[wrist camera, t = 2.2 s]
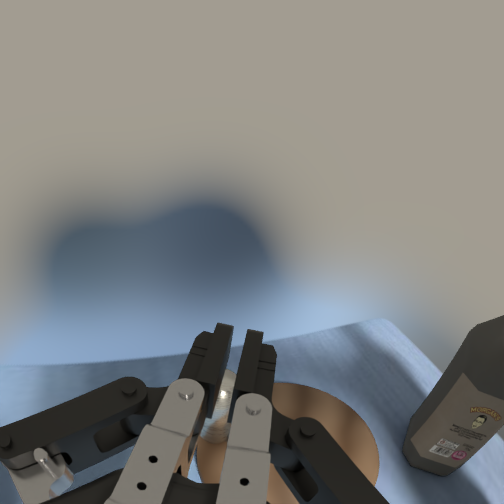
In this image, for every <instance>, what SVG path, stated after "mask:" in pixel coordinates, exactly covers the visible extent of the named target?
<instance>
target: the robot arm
mask: <svg viewBox="0 0 504 504" xmlns="http://www.w3.org/2000/svg"><path fill="white" fill-rule="evenodd" d="M233 328H234V326H231V325H227V324H222V323H217V325H216V328H215V330H214V333H210V332H206V331H203V332H202V333H201V334H199V335H198V336H197V337H196V338H195V341H194V343H193V346H192V348H191V350H190V352H189V355H188V357H187V359H186V362H185V364H184V366H183V369H182V371H181V373H180V376H179V378H178V379H177V380H176V381H174V382H172V383H171V384H170V386H167V387H162V388H152V387H146V385H145V384H144V382H143V381H141V380H140V379H138V378H135V377H123V378H120V379H118V380H116V381H113V382H111V383H109V384H107V385H104V386H102V387H100V388H97V389H95V390H93V391H91V392H88V393H86V394H84V395H81V396H79V397H76V398H74V399H72V400H69V401H67V402H64V403H62V404H60V405H57V406H55V407H52V408H50V409H47V410H45V411H42V412H40V413H37V414H35V415H32V416H29V417H27V418H24V419H22V420H19V421H16V422H14V423H11V424H8V425H6V426H3V427H0V461H1V462H2V464H3V465H4V466H5V467H6V468H7V469H8V471H9V473H10V475H11V478H12V480H13V482H14V484H15V486H16V489H17V491H18V493H19V495H20V497H21V499H22V501H23V503H24V504H271V503H269V502H268V501H266V499H267V490H268V480H269V469H270V463H272V464H273V465H274V467H275V469H276V471H277V472H278V474H279V475H280V477H281V478H282V480H283V481H284V482H285V484H286V485H287V487H288V488H289V490H290V491H291V492H292V494H293V495H294V497H295V498H296V499H297V501H298V502H299V504H389V503H388V501H387V500H386V499H385V498H384V497H383V496H382V495H381V494H380V492H379V491H378V490H377V489H376V488H375V487H374V486H373V484H372V483H371V482H370V481H369V480H368V479H367V478H366V476H365V475H364V474H363V473H362V472H361V471H360V469H359V468H358V467H357V466H356V465H355V464H354V462H353V461H352V460H351V459H350V458H349V456H348V455H347V454H346V453H345V452H344V450H343V449H342V448H341V447H340V446H339V444H338V443H337V442H336V441H335V440H334V438H333V437H332V436H331V435H330V433H329V432H328V431H327V430H326V429H325V427H324V426H323V425H322V424H321V423H320V422H319V421H318V420H316V419H314V418H311V417H300V418H297V419H295V420H293V419H291V418H289V417H286V416H284V415H282V414H281V413H279V412H278V411H277V410H276V409H275V407H274V406H273V403H272V392H273V384H274V375H275V367H276V358H277V354H276V351H275V349H274V347H273V346H272V345H267V344H262V339H263V332H260V331H255V330H250V329H248V330H247V334H246V338H245V343H244V346H243V351H242V355H241V359H240V363H239V367H238V371H237V376H236V380H235V384H234V388H233V393H232V398H231V404H230V409H229V414H228V420H227V423H231V427H230V432H229V437H228V442H227V447H226V452H225V457H224V462H223V467H222V472H221V477H220V482H219V483H196V482H194V481H192V480H190V479H188V478H187V476H188V471H189V467H190V464H191V461H192V458H193V455H194V452H195V449H196V446H197V443H198V440H199V438H200V435H201V431H202V428H203V426H204V422H205V419H206V418H209V419H212V415H213V412H214V408H215V405H216V401H217V398H218V394H219V391H220V387H221V384H222V380H223V377H224V373H225V370H226V366H227V362H228V358H229V353H230V347H231V341H232V335H233ZM133 445H135V446H134V449H133V451H132V453H131V455H130V457H129V459H128V461H127V463H126V465H125V467H124V468H122V469H119V470H116V471H113V472H111V473H109V474H107V475H105V476H103V477H100V478H98V479H96V480H94V481H92V482H90V483H87V484H85V485H83V486H81V487H78V488H76V489H74V490H72V491H69V492H67V493H64V494H62V493H63V492H64V491H65V490H67V489H68V488H69V487H70V486H71V485H72V483H73V480H74V475H73V474H75V473H77V472H80V471H82V470H84V469H86V468H88V467H90V466H93V465H95V464H97V463H99V462H101V461H103V460H105V459H107V458H109V457H111V456H113V455H115V454H117V453H119V452H121V451H123V450H125V449H127V448H129V447H131V446H133ZM61 494H62V495H61Z"/></svg>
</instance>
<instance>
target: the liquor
mask: <svg viewBox="0 0 504 504" xmlns="http://www.w3.org/2000/svg"><path fill="white" fill-rule="evenodd" d="M503 425H504V315H503V316H500V317H498V318H495V319H492V320H489V321H486V322H483V323H481V324H477V325H476V326H475V327H474V328H473V329H472V330H471V331H469V333H468V335H467V337H466V338H465V340H464V342H463V343H462V345H461V347H460V348H459V350H458V352H457V353H456V355H455V357H454V358H453V360H452V361H451V363H450V364H449V366H448V367H447V369H446V370H445V372H444V373H443V375H442V376H441V378H440V379H439V381H438V382H437V384H436V385H435V387H434V388H433V389H432V391H431V392H430V394H429V395H428V396H427V398H426V399H425V401H424V402H423V403H422V405H421V406H420V407H419V409H418V410H417V411H416V412H415V414H414V415H413V416H412V418H411V419H410V423H409V427H408V431H407V434H406V438H405V441H404V445H403V449H402V451H403V453H404V455H405V457H406V458H407V460H408V462H409V464H410V465H411V466H413V467H416V468H419V469H421V470H424V471H428V472H431V473H434V474H437V475H440V476H446V475H448V474H450V473H451V472H453V471H455V470H456V469H458V468H460V467H461V466H462V465H463V464H464V463H465V462H466V461H468V460H469V459H470V458H471V457H472V456H473V455H474V454H475V453H476V452H477V451H478V450H479V449H480V448H481V447H483V446H484V445H485V444H486V443H487V442H488V441H489V440H490V439H491V438H492V437H493V436H494V434H495V433H496V432H497V431H498V430H499V429H500V428H501V427H502V426H503Z"/></svg>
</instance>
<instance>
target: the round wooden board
mask: <svg viewBox="0 0 504 504" xmlns="http://www.w3.org/2000/svg"><path fill="white" fill-rule="evenodd" d="M272 403H273V406H274V407H275V409H276V410H277V411H278V412H279V413H281V414H282V415H284V416H286V417H289V418H291V419H293V420H295V419H297V418H300V417H311V418H314V419H316V420H318V421H319V422H320V423H321V424H322V425H323V426H324V427H325V429H326V430H327V431H328V432H329V433H330V435H331V436H332V437H333V438H334V440H335V441H336V442H337V443H338V444H339V446H340V447H341V448H342V449H343V450H344V452H345V453H346V454H347V455H348V456H349V458H350V459H351V460H352V461H353V462H354V464H355V465H356V466H357V467H358V468H359V469H360V471H361V472H362V473H363V474H364V475H365V476H366V478H367V479H368V480H369V481H370V482H371V483H372V484H373V486H375V484H376V481H377V477H378V472H379V453H378V448H377V445H376V442H375V439H374V437H373V435H372V433H371V431H370V429H369V427H368V426H367V425H366V423H365V422H364V420H363V419H362V418H361V417H360V416H359V415H358V414H357V413H356V412H355V411H354V410H353V409H352V408H351V407H349V406H348V405H347V404H345V403H344V402H342V401H341V400H339V399H338V398H336V397H334V396H332V395H330V394H328V393H326V392H323V391H321V390H318V389H315V388H312V387H308V386H304V385H299V384H291V383H274V384H273V392H272ZM230 427H231V425H230ZM226 447H227V442H226V441H224V442H222V443H218V444H212V443H209V442H206V441H205V440H204V439H203V438H202V437H201V436H200V438H199V440H198V443H197V466H198V471H199V475H200V478H201V481H202V483H219V482H220V477H221V472H222V467H223V462H224V457H225V452H226ZM266 501H268V502H269V503H271V504H299V502H298V501H297V499H296V498H295V497H294V495H293V494H292V492H291V491H290V490H289V488H288V487H287V485H286V484H285V482H284V481H283V480H282V478H281V477H280V475H279V474H278V472H277V471H276V469H275V467H274V465H273V464H272V463H270V469H269V480H268V490H267V499H266Z"/></svg>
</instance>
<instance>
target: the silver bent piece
mask: <svg viewBox="0 0 504 504" xmlns="http://www.w3.org/2000/svg"><path fill="white" fill-rule="evenodd" d="M236 376H237V375H236V374H235V373H234V372H232V371H231V370H228V369H226V370H225V373H224V377H223V380H222V384H221V387H220V391H219V394H218V398H217V401H216V405H215V408H214V412H213V415H212V419H209V418H206V419H205V422H204V426H203V428H202V431H201V435H200V436H201V437H202V438H203V439H204V440H205V441H206V442H209V443H212V444H218V443H222V442H224V441H226V442H228V437H229V432H230V425H231V423H227V420H228V414H229V409H230V404H231V398H232V393H233V388H234V384H235V380H236Z"/></svg>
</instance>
